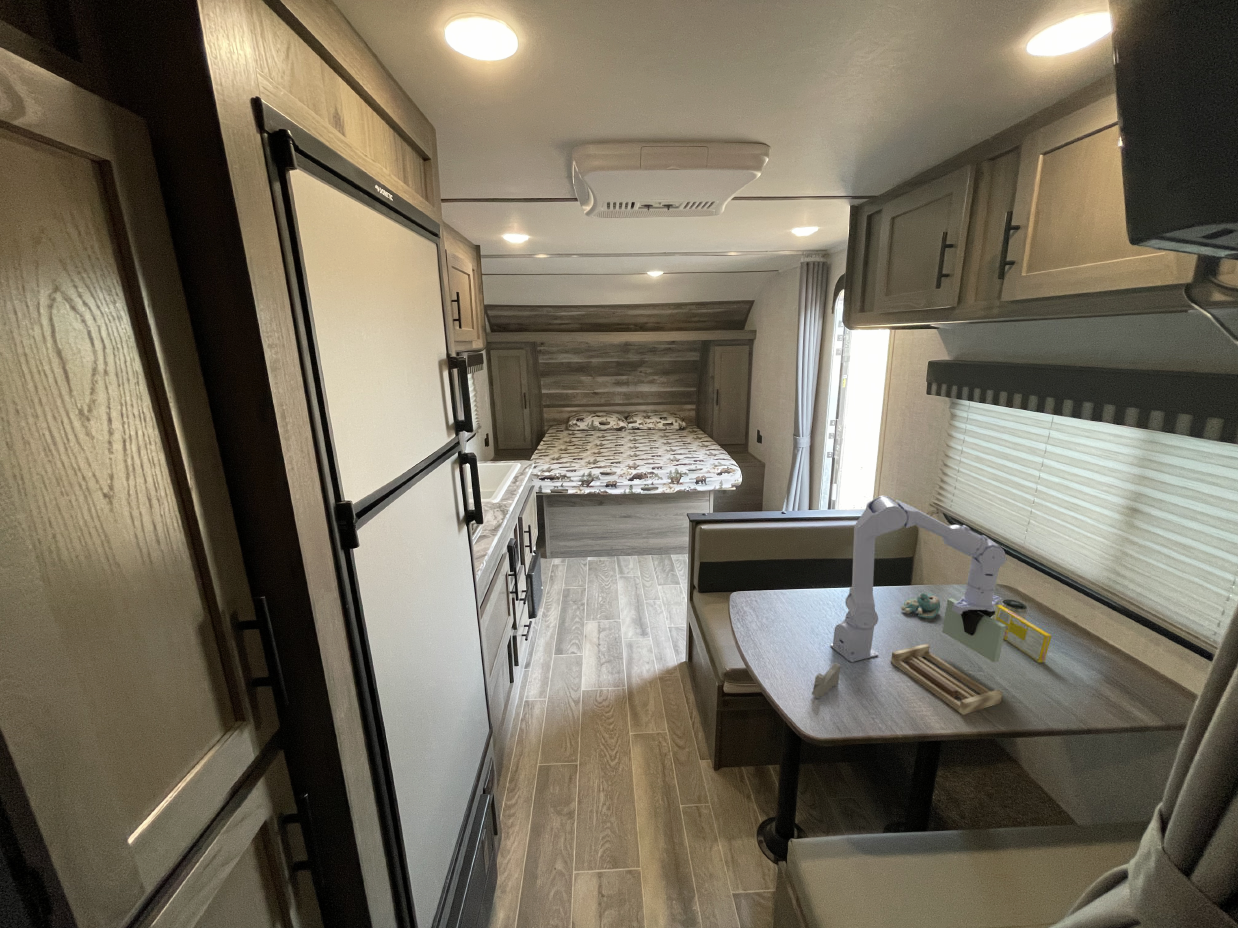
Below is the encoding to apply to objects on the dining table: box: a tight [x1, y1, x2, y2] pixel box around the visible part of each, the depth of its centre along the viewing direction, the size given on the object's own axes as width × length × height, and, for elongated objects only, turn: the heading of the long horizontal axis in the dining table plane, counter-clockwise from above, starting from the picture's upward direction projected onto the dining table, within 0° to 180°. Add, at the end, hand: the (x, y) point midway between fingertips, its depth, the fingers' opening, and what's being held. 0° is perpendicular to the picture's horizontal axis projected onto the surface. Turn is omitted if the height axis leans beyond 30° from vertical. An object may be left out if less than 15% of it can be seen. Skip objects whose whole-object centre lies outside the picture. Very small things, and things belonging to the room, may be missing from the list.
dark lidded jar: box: [1001, 598, 1029, 621], centre depth 144 cm, size 6×6×8 cm
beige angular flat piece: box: [811, 662, 842, 699], centre depth 118 cm, size 6×1×10 cm
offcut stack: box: [908, 660, 958, 699], centre depth 120 cm, size 2×12×3 cm, turn 18°
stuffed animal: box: [900, 592, 941, 620], centre depth 153 cm, size 11×7×12 cm
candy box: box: [991, 604, 1052, 663], centre depth 135 cm, size 16×2×8 cm, turn 4°
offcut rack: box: [890, 643, 1003, 716], centre depth 121 cm, size 12×20×3 cm, turn 18°
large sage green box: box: [941, 597, 1006, 663], centre depth 126 cm, size 2×14×10 cm, turn 18°
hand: (971, 632), depth 126 cm, fingers closed on large sage green box, 2 cm apart
